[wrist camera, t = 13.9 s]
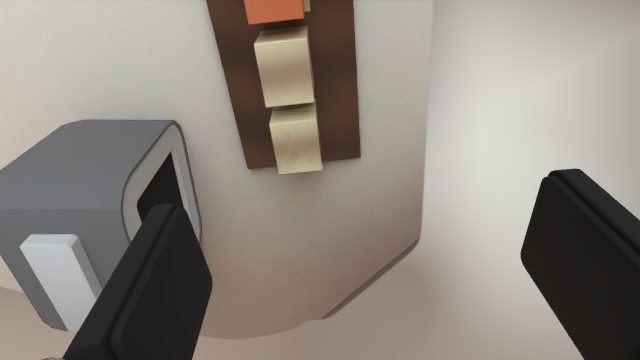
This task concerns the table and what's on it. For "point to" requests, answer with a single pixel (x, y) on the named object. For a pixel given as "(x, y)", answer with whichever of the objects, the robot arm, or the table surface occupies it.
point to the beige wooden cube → (296, 138)
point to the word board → (327, 65)
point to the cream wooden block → (285, 66)
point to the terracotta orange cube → (273, 10)
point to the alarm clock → (87, 207)
